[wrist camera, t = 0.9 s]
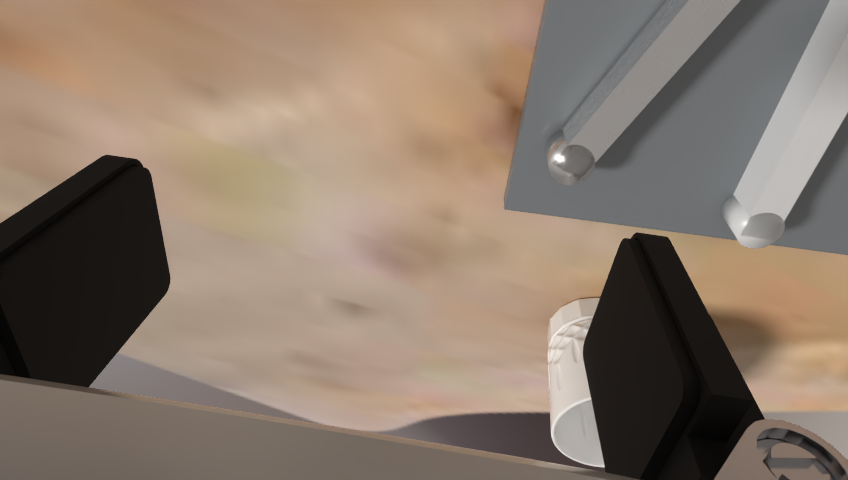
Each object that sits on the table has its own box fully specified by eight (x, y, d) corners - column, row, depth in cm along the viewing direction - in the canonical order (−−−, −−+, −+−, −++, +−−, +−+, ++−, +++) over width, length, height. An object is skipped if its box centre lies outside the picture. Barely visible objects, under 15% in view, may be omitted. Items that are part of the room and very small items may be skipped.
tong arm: (845, -231, 22) (879, -240, 20) (887, -191, 23) (924, -195, 21) (536, 153, 33) (539, 171, 31) (570, 173, 34) (575, 192, 32)
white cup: (570, 372, 47) (586, 479, 39) (521, 316, 44) (528, 420, 36) (657, 338, 44) (695, 447, 36) (611, 275, 40) (641, 378, 32)
